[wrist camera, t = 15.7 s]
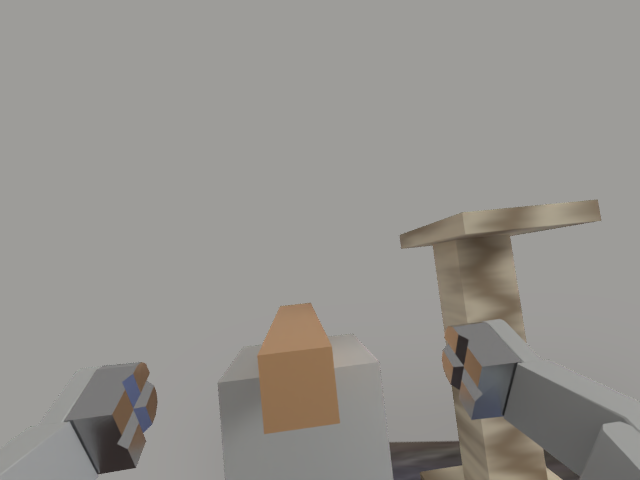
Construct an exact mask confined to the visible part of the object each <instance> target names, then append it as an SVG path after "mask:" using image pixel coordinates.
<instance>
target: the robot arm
mask: <svg viewBox="0 0 640 480" xmlns="http://www.w3.org/2000/svg"><path fill="white" fill-rule="evenodd" d="M445 339H446V341H447V342H448V345H447V346H446V347H445V348H444V349H443V354H442V362H443V368H444V372H445V374H446V377H447V378H448V380H449V382H450V384H451V385H452V386H454V387H455V388H457V389H459V390H460V393H459V400H460V401H461V403H462V405H463V406H464V408H465V410H466V411H467V413H468V415H469V417H470V418H471V420H476V419H485V418H494V417H503V416H504V419H505V420H506V421H508V422H509V423H510V424H512V425H513V426H514V427H516V428H517V429H518V430H520V431H521V432H522V433H524V434H525V435H526V436H527V437H529V438H530V439H531V440H533V441H534V442H535V443H537V444H538V445H539V446H541V447H542V448H543V449H545V450H546V451H547V452H548V453H550V454H551V455H552V456H554V457H555V458H556V459H558V460H559V461H560V462H562V463H563V464H564V465H566V466H567V467H568V468H569V469H571V470H572V471H573V472H575V473H576V474H577V475H579V476H580V478H579V480H640V401H638V400H635V399H633V398H631V397H629V396H627V395H625V394H622V393H620V392H618V391H616V390H614V389H612V388H609V387H607V386H605V385H603V384H600V383H599V382H596V381H594V380H592V379H590V378H588V377H585V376H583V375H581V374H579V373H577V372H575V371H573V370H570V369H568V368H566V367H564V366H562V365H560V364H558V363H555V362H553V361H551V360H548V359H546V360H542V359H541V358H540V357H539V356H538V354H537V353H536V352H534V350H533V349H532V348H531V347H530V346H529V345H528V344H527V343H526V342H525V341H524V340H523V339H522V338H521V337H520V336H519V335H518V334H517V333H516V332H515V331H514V330H513V329H512V328H511V327H510V326H509V325H508V324H507V323H506V322H505V321H504V320H501V319H495V320H488V321H482V322H475V323H467V324H459V325H451V326H448V327H447V328H446V330H445ZM148 376H149V370H148V368H147V365H146V364H145V363H142V362H139V363H128V364H117V365H107V366H102V367H90V368H82V369H80V370H78V371H77V372H75V374H74V375H73V377H72V378H71V379H70V381H69V382H68V383H67V385H66V386H65V388H64V389H63V391H62V392H61V393H60V395H59V396H58V398H57V399H56V400H55V402H54V403H53V405H52V406H51V407H50V409H49V410H48V412H47V413H46V414H45V416H44V417H43V419H42V420H41V421H40V423H39V424H38V425H37V426H31V427H29V428H28V429H26V430H25V431H24V432H22V433H21V434H19V435H18V436H16V437H15V438H14V439H12V440H11V441H9V442H8V443H6V444H5V445H4V446H2V447H1V448H0V480H96V478H97V477H98V474H102V473H108V472H114V471H120V470H126V469H132V468H136V466H137V464H138V461H139V458H140V455H141V453H142V450H143V447H144V445H145V442H146V440H145V437H144V434H143V433H144V432H145V431H146V430H147V429H148V428H149V427H150V426H151V425H152V423H153V420H154V418H155V415H156V408H157V394H156V390H155V387H154V386H153V385H152V384H151V383H149V382H148V381H146V380H147V378H148Z"/></svg>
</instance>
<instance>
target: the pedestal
mask: <svg viewBox="0 0 640 480" xmlns="http://www.w3.org/2000/svg"><path fill="white" fill-rule="evenodd" d="M328 339H329V341H330V343H331V345H332V351H333V361H334V370H335V380H336V389H337V399H338V408H339V418H340V423H339V424H332V425H325V426H318V427H311V428H304V429H297V430H290V431H283V432H276V433H269V434H264V428H263V416H262V404H261V393H260V381H259V369H258V358H257V355H258V353H259V351H260V349H261V347H262V345H255V346H247V347H243V348H242V349H241V351H240V352H239V354H238V355H237V357H236V358H235V359H234V361H233V362H232V364H231V365H230V366H229V368H228V369H227V371H226V372H225V373H224V375H223V376H222V378H221V379H220V381H219V382H218V391H219V405H220V418H221V432H222V445H223V458H224V472H225V480H393V473H392V464H391V456H390V447H389V439H388V431H387V422H386V413H385V405H384V396H383V388H382V379H381V370H380V362H379V361H378V360H377V359H376V358H375V357H374V356H373V355H372V353H371V352H370V351H369V350H368V349H367V348H366V347H365V346H364V345H363V344H362V343H361V342H360V341H359V340H358V339H357V338H356V336H354V334H346V335H338V336H329V337H328Z"/></svg>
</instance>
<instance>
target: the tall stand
mask: <svg viewBox="0 0 640 480" xmlns="http://www.w3.org/2000/svg"><path fill="white" fill-rule="evenodd" d="M595 221H601V216H600V211H599V205H598V200H588V201H578V202H568V203H557V204H546V205H535V206H525V207H515V208H504V209H493V210H483V211H472V212H462V213H459V214H456V215H454V216H451V217H448V218H445V219H443V220H440V221H437V222H434V223H432V224H429V225H426V226H423V227H421V228H418V229H415V230H412V231H409V232H407V233H404V234H401V235H400V242H401V248H402V249H403V248H413V247H422V246H433V250H434V258H435V265H436V272H437V280H438V286H439V295H440V301H441V309H442V317H443V324H444V332H445V330H446V328H447V327H448V326H451V325H459V324H467V323H475V322H482V321H488V320H495V319H501V320H504V321H505V322H506V323H507V324H508V325H509V326H510V327H511V328H512V329H513V330H514V331H515V332H516V333H517V334H518V335H519V336H520V337H521V338H522V339H523V340H524V341H525V342H526V336H525V329H524V324H523V316H522V310H521V304H520V297H519V291H518V284H517V278H516V271H515V266H514V259H513V252H512V246H511V239H510V236H513V235H519V234H525V233H531V232H537V231H543V230H549V229H555V228H561V227H566V226H572V225H578V224H584V223H589V222H595ZM526 343H527V342H526ZM447 345H448V342H447V341H446V346H447ZM452 391H453V399H454V406H455V414H456V421H457V428H458V436H459V443H460V451H461V458H462V466H455V467H449V468H443V469H436V470H430V471H424V472H420V476H421V480H562V479H561V478H559V477H558V476H557V475H556V474H554V473H553V472H552V471H550V470H549V469H548V468H547V467H546V465H545V458H544V452H543V448H542V447H541V446H539V445H538V444H537V443H535V442H534V441H533V440H531V439H530V438H529V437H527V436H526V435H525V434H524V433H522V432H521V431H520V430H518V429H517V428H516V427H514V426H513V425H512V424H510V423H509V422H508V421H506V420H505V419H504V416H503V417H494V418H485V419H476V420H471V418H470V417H469V415H468V413H467V411H466V410H465V408H464V406H463V405H462V403H461V401H460V400H459V393H460V390H459V389H457V388H455V387H454V386H452Z"/></svg>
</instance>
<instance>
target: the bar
mask: <svg viewBox="0 0 640 480" xmlns="http://www.w3.org/2000/svg"><path fill="white" fill-rule="evenodd" d="M257 358H258V369H259V381H260V393H261V404H262V416H263V428H264V434H269V433H276V432H283V431H290V430H297V429H304V428H311V427H318V426H325V425H332V424H339V423H340V418H339V408H338V399H337V389H336V380H335V370H334V361H333V351H332V345H331V343H330V341H329V339H328V337H327V335H326V333H325V331H324V329H323V327H322V325H321V323H320V321H319V319H318V317H317V315H316V313H315V311H314V309H313V307H312V305H311V303H305V304H296V305H288V306H280V308H279V310H278V312H277V314H276V316H275V319H274V321H273V323H272V325H271V327H270V330H269V332H268V334H267V336H266V338H265V340H264V342H263V345H262V347H261V349H260V351H259V353H258V355H257Z"/></svg>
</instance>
